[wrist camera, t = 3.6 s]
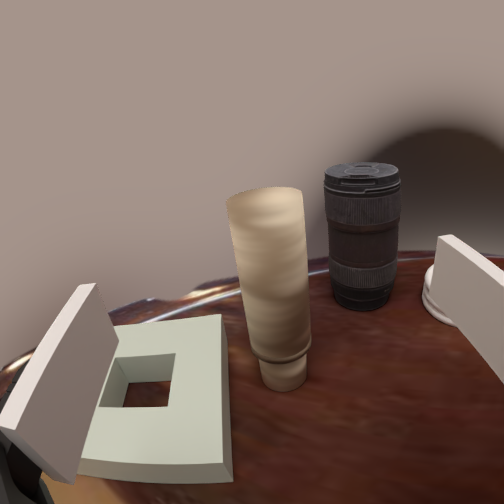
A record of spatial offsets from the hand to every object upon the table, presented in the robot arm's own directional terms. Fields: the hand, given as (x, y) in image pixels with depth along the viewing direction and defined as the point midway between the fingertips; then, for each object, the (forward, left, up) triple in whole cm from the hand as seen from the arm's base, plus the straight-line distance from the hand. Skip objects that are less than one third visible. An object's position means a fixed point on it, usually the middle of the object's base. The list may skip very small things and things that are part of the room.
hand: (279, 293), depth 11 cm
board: (+11, -8, -15) cm, 20 cm away
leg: (-1, -10, -15) cm, 18 cm away
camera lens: (-12, -20, -15) cm, 28 cm away
